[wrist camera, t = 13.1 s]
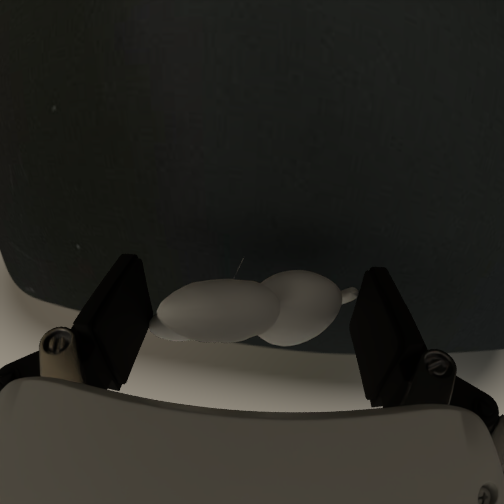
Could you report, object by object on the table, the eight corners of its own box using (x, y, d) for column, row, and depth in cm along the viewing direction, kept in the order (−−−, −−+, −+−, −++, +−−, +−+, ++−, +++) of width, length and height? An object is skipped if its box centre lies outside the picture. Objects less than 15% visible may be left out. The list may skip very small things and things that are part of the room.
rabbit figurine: (305, 339, 14) (145, 367, 11) (290, 266, 16) (134, 275, 12) (398, 319, 9) (168, 374, 6) (370, 218, 11) (149, 210, 7)
